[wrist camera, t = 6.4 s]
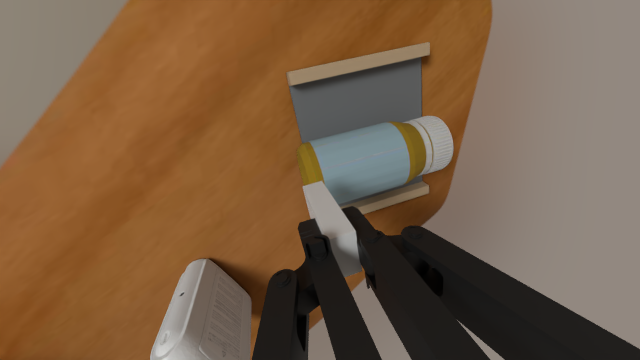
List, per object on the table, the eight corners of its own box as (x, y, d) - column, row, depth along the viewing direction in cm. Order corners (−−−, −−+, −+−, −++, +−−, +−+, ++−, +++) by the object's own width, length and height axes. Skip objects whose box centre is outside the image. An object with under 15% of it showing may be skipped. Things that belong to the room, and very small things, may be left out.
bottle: (309, 207, 28) (422, 174, 30) (318, 215, 21) (464, 171, 23) (293, 150, 28) (408, 121, 30) (297, 138, 21) (446, 102, 23)
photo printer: (176, 270, 29) (127, 387, 18) (206, 251, 29) (176, 356, 18) (230, 313, 33) (218, 427, 22) (256, 296, 33) (256, 402, 22)
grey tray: (320, 219, 31) (323, 227, 30) (285, 72, 24) (288, 72, 22) (420, 187, 33) (428, 193, 32) (418, 44, 26) (429, 41, 24)
